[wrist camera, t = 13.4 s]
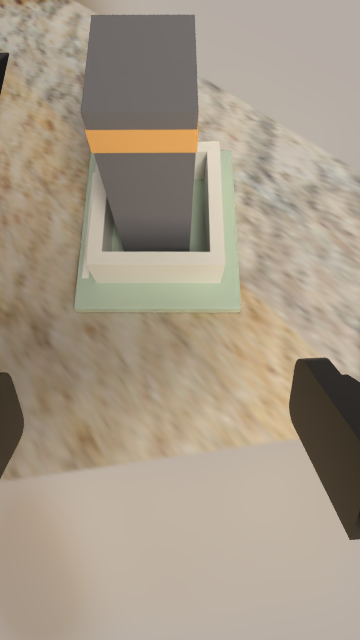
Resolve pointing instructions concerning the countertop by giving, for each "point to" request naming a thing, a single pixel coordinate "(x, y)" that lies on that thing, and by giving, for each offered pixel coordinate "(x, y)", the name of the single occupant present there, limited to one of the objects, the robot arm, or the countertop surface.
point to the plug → (144, 124)
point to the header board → (164, 267)
